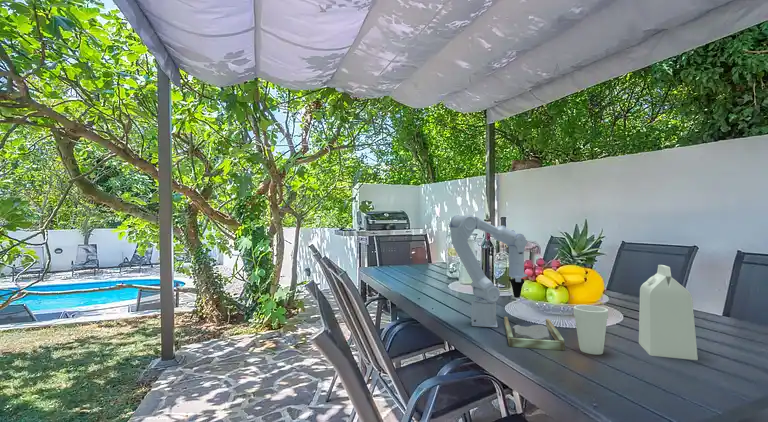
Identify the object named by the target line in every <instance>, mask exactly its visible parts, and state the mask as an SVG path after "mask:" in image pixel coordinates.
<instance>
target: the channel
mask: <svg viewBox="0 0 768 422" xmlns="http://www.w3.org/2000/svg"><path fill="white" fill-rule="evenodd" d="M503 321H504V323H503V324H504V328H505V332H506V333H505V334H506V339H507V342H508V346H509V347H510V348H523V349H525V348H526V349H527V348H528V349H537V350H538V349H540V350H551V351H552V350H554V351H566V345H565V344H566V343H565V339H564V338H563V337H562V335H561V333H560V331H559V330H558V329H557V328H556V327H555V325H554V323H553V322H552V321H551V319H550V318H545V327H547V328H548V332H549V334H551V335H550V336H552V338H553V339H552V340H539V339H524V338H515V337H514V336H513V335H512V328H511V327H512V326H511V325H510V322H509V318H508V316H504V318H503Z"/></svg>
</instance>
